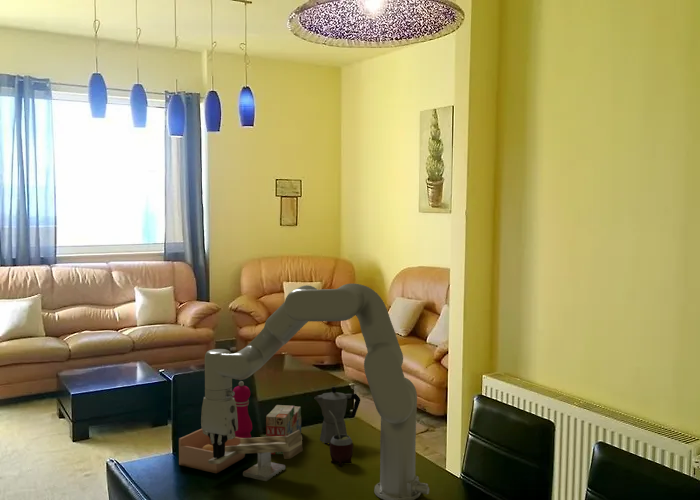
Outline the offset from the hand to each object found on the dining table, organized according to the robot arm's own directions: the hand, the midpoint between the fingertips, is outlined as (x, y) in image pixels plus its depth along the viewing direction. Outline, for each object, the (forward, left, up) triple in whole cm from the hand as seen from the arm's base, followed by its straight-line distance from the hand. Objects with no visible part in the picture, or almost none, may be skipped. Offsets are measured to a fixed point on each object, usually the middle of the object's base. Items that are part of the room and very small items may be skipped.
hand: (219, 456), depth 191 cm
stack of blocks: (-1, -33, -7) cm, 34 cm away
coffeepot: (-15, -43, -7) cm, 46 cm away
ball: (+12, -9, -4) cm, 15 cm away
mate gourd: (-25, -26, -7) cm, 37 cm away
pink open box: (+10, -9, -6) cm, 15 cm away
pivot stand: (-9, -9, -6) cm, 15 cm away
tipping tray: (-10, -5, -1) cm, 11 cm away
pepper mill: (+13, -28, -7) cm, 32 cm away
